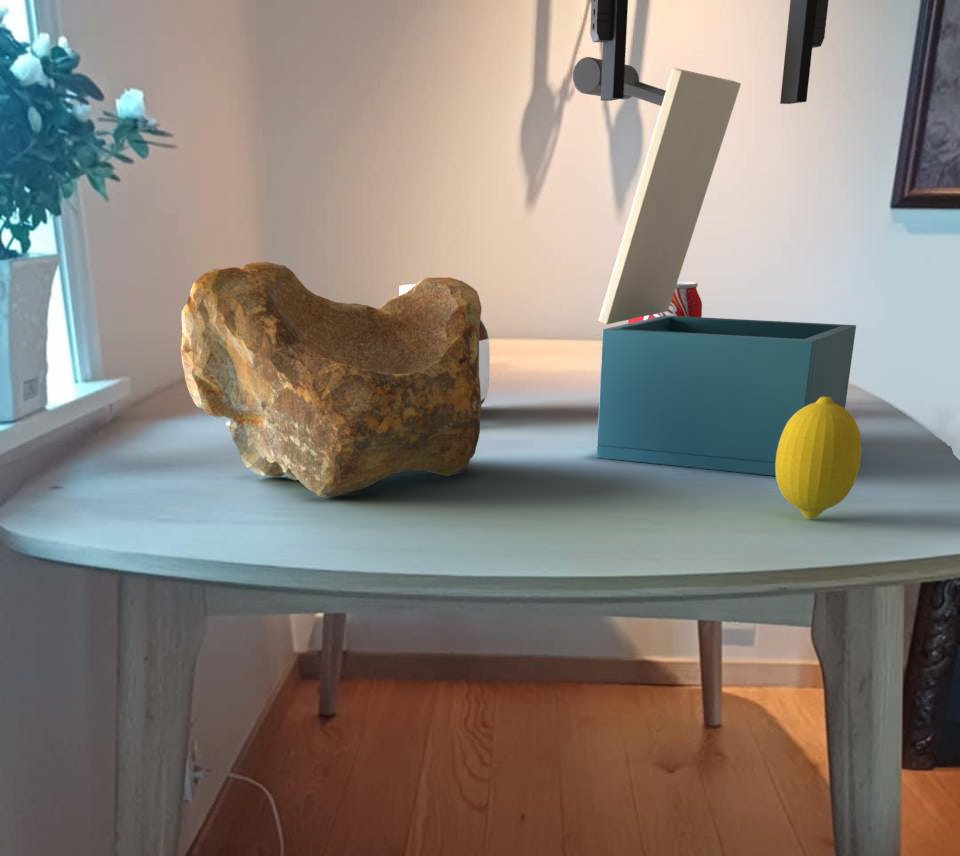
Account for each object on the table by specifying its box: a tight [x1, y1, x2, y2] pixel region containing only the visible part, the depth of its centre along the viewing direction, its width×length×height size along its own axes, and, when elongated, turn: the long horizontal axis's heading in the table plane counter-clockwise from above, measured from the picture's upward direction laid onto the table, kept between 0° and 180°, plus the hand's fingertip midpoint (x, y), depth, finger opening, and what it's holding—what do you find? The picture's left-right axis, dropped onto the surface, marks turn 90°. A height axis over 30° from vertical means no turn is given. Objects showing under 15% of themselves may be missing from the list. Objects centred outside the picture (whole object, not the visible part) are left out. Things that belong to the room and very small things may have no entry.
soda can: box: [627, 280, 703, 324], centre depth 122 cm, size 7×7×12 cm
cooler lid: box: [572, 56, 742, 325], centre depth 102 cm, size 18×14×10 cm
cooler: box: [596, 316, 857, 477], centre depth 105 cm, size 17×14×10 cm
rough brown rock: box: [180, 261, 483, 499], centre depth 92 cm, size 23×17×15 cm
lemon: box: [775, 397, 862, 520], centre depth 84 cm, size 6×6×8 cm
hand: (703, 102), depth 88 cm, fingers open, 13 cm apart
